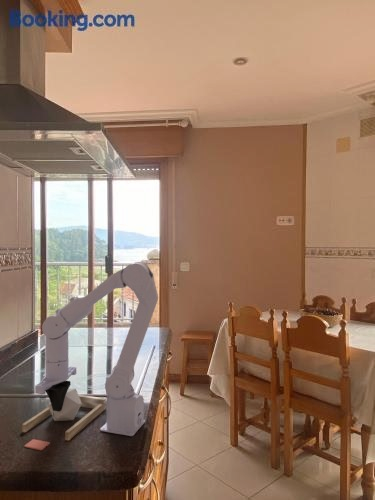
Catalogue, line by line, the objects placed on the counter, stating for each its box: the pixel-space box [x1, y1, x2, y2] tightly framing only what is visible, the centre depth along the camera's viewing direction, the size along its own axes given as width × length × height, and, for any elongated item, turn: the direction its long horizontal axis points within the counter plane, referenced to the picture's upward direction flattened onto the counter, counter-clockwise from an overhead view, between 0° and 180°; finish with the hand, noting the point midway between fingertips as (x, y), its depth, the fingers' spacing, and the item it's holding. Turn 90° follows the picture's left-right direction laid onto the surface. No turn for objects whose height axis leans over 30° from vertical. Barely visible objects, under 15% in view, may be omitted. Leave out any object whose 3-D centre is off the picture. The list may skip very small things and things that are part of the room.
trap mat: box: [23, 438, 51, 451], centre depth 86 cm, size 5×3×1 cm, turn 73°
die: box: [47, 388, 82, 422], centre depth 99 cm, size 8×9×10 cm
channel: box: [21, 394, 107, 441], centre depth 98 cm, size 14×18×3 cm
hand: (57, 410), depth 95 cm, fingers closed
